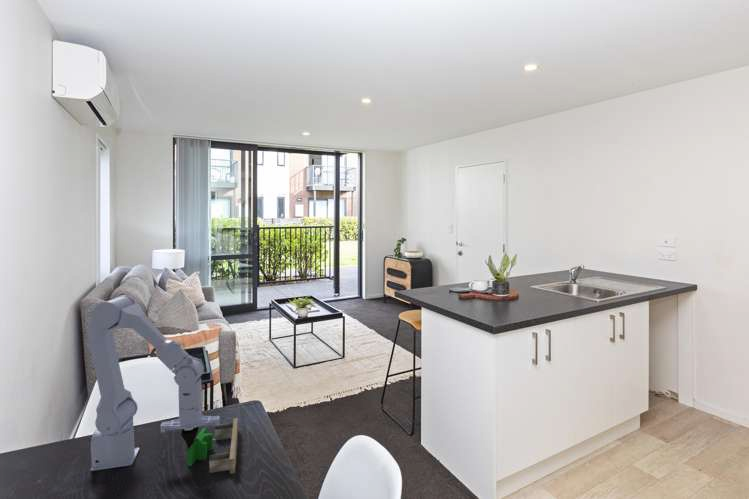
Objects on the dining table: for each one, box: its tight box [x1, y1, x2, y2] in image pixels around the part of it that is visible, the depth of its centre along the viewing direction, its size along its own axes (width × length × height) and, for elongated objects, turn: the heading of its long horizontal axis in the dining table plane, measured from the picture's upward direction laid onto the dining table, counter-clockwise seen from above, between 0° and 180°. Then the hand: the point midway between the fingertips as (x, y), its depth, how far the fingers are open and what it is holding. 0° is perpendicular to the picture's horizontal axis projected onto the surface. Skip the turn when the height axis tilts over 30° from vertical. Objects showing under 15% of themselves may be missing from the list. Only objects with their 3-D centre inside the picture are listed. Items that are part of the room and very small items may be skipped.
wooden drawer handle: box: [208, 417, 239, 475], centre depth 114 cm, size 6×22×4 cm, turn 16°
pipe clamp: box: [187, 427, 213, 467], centre depth 113 cm, size 11×4×5 cm, turn 4°
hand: (191, 453), depth 112 cm, fingers closed, pressing on pipe clamp
